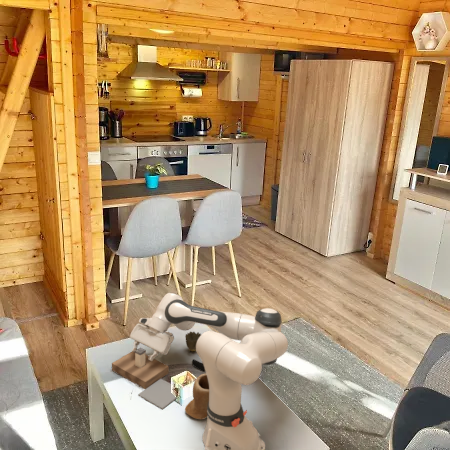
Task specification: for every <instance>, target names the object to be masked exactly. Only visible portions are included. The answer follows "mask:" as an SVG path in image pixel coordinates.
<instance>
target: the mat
mask: <svg viewBox="0 0 450 450" xmlns="http://www.w3.org/2000/svg"><path fill="white" fill-rule="evenodd" d="M171 384H172V383H170V382H168V381H166V380H165V379H162V378H161V379H159V380H158V381H157V382H155V383H154V384H152V385H151V386H149V387H148V388H147V389H143V390H142V391H141V392H139V393H138V395H137V396H138V397H140V398H142V399H143V400H145V401H147V402H149V403H150V404H152V405H153V406H155V407H156V408H159V409H160V410H164V409H165V408H167V407H168V406H169V405H171V404H172V403H173V402H174V401H176V400H177V399H178V398H176V397H175V396H174V395H173V394H172V393H171Z"/></svg>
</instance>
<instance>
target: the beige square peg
mask: <svg viewBox="0 0 450 450" xmlns="http://www.w3.org/2000/svg"><path fill="white" fill-rule="evenodd" d="M146 351H147V350H145V349H144V348H142V347H139V348H137V350H135V366H137V367H139V368H142V367H143V366H145V354H146Z"/></svg>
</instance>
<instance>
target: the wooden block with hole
mask: <svg viewBox="0 0 450 450" xmlns="http://www.w3.org/2000/svg"><path fill="white" fill-rule="evenodd" d="M148 358H149V355H148V354H146V353H145V366H143V367H142V368H139V367H137V366H135V353H134V352H133V351H132V350H131V351H129V352H128V353H127V354H125V355H123V356H121V357H120V358H119V359H118V358H117V360H115V361H113V362H112V363H111V370H112V371H113V372H114V373H116V374H117V375H119V376H120V377H123V378H125V379H127V380H128V381H130V382H132V383H133V384H135V385H137V386H139V387H140V388H142V389H143V390H145V389H147V388H148V387H149V386H151V385H152V384H154V383H155V382H157V381H158V380H159V379H162V378H164V377H166V376H167V375H168V374H170V367H169V365H167V364H165V363H163V362H162V361H160V360H157V359H156V358H154V359H153V361H150V360H148Z"/></svg>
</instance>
